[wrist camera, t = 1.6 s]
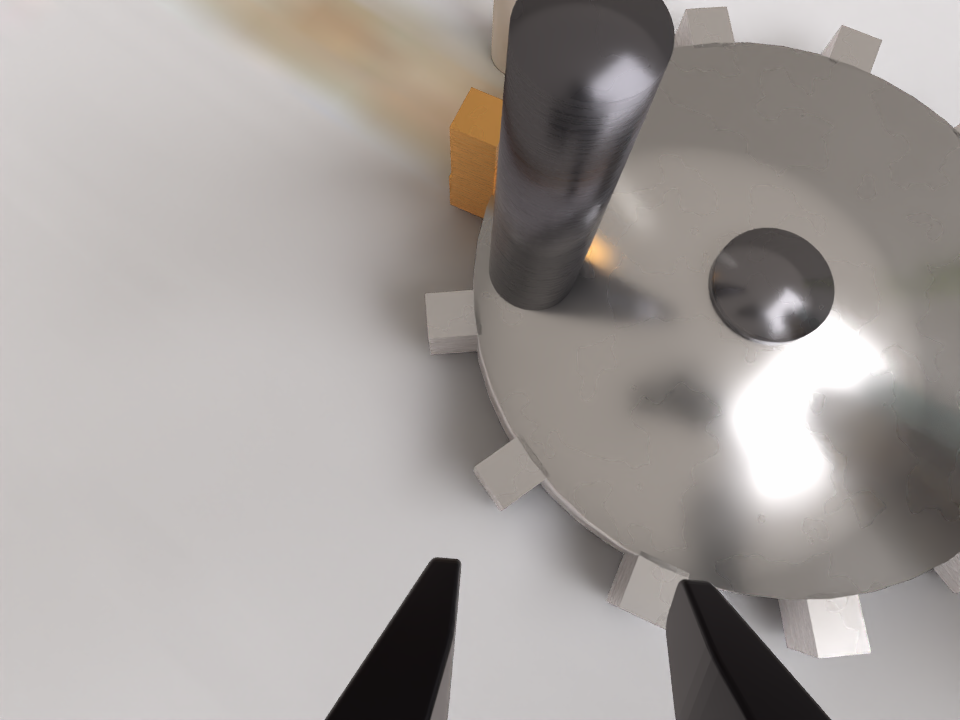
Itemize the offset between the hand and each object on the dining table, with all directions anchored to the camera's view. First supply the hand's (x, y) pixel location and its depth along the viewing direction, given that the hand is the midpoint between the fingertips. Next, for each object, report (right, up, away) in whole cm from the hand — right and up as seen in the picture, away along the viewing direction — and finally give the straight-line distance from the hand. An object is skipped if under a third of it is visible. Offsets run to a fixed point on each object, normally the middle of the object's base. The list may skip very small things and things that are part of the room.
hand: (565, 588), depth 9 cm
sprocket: (+9, +5, +16) cm, 18 cm away
